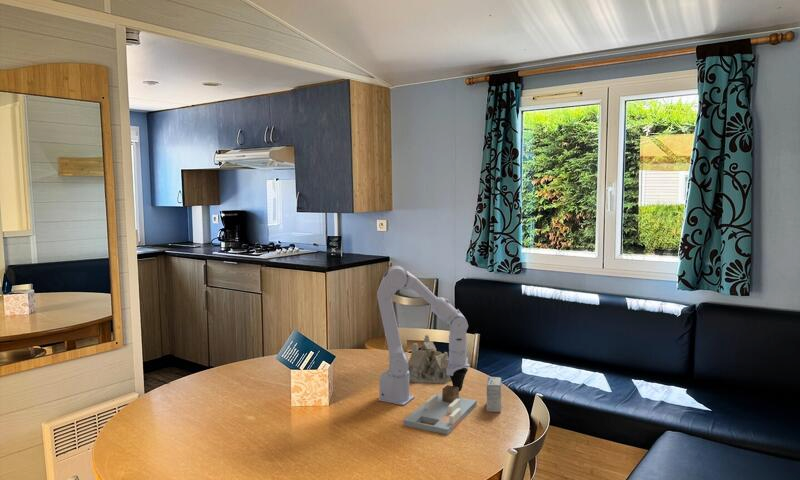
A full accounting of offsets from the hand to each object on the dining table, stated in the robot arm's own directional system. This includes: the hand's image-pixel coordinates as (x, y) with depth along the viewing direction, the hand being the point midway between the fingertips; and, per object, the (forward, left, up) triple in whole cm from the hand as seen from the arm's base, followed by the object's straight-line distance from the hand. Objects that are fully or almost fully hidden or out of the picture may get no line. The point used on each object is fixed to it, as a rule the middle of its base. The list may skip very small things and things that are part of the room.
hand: (457, 390), depth 183 cm
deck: (0, -15, -3) cm, 15 cm away
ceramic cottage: (-17, +15, -3) cm, 23 cm away
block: (0, -6, -1) cm, 6 cm away
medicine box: (+13, -2, -3) cm, 13 cm away
